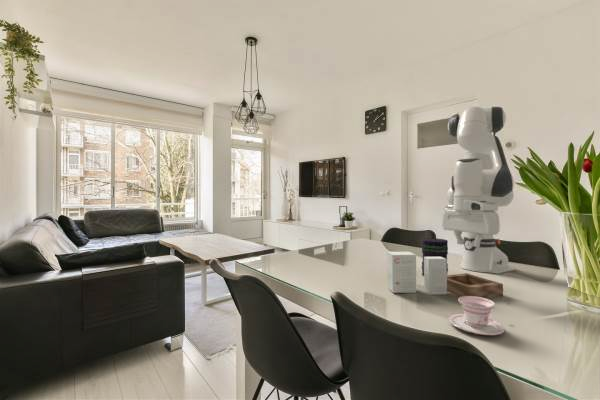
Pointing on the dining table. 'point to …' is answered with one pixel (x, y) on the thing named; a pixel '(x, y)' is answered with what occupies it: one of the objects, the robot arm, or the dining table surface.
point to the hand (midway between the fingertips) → (468, 245)
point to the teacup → (476, 316)
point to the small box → (402, 272)
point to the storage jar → (434, 249)
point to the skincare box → (435, 275)
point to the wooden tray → (473, 286)
